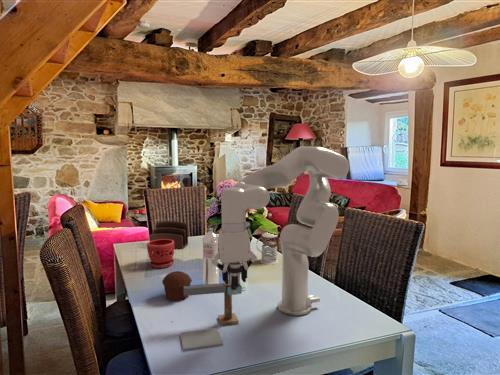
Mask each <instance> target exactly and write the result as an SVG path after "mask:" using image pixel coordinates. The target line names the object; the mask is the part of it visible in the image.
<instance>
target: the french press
mask: <svg viewBox="0 0 500 375" xmlns="http://www.w3.org/2000/svg"><path fill="white" fill-rule="evenodd" d="M272 216H273V215H272V213H268V216H267V217H272ZM268 232H269V231H266V232H263V233H262V234H261V237H260V238H258V239H257V241H256V243H258V242H259V241H260V240H263V238H267V239H268V240H269V241H268V240H265V241H262V246H261V250H260V249H259V248H258V246H256V248H257V250H258V252H260V253H261V258H260V260H259V262H260V263H261V264H265V265H276V264H278V263H279V262H280V261H279V260H278V245H277V242H276V241H272V240H271V239H274V238H277V237H278V234H277V235H274V234H270V233H268Z"/></svg>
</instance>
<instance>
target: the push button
mask: <svg viewBox="0 0 500 375" xmlns="http://www.w3.org/2000/svg"><path fill="white" fill-rule="evenodd" d="M242 269H243V266H242V264H241V262H236V263H228V267H227V272H228V280H229V283H228V285H226V293H227V294H228V295H232V296H235V295H240V294H242V293H243V292H246V287H245V286H242V285H241V282H240V281H241V272H242Z"/></svg>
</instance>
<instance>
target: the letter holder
mask: <svg viewBox="0 0 500 375" xmlns="http://www.w3.org/2000/svg"><path fill="white" fill-rule="evenodd" d="M188 227H189V226H188V223H186V222H183V221H182V222H181V221H175V220H174V221H173V220H171V221H169V220H168V221H167V220H163V221H156V222H155V227H154V228H153V229H152V233H151V234H150V235H149V242H150V241H153V240H159V239H171V240H173V241H174V250H184V249H186V247H187V246H188V245H189V231H188V229H189V228H188ZM160 245H161V244H160Z"/></svg>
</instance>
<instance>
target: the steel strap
mask: <svg viewBox="0 0 500 375" xmlns="http://www.w3.org/2000/svg"><path fill="white" fill-rule="evenodd" d="M228 283H229V279H228ZM226 285H228V284H225V282H224V281H223V283H220V282H219V284H206V285H203V284H195V285H193V284H192V285H190V286H184V296H188V295H189V296H197V295H198V296H201V295H211V294H222V293H223V294H224V293H226ZM189 296H188V297H189Z"/></svg>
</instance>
